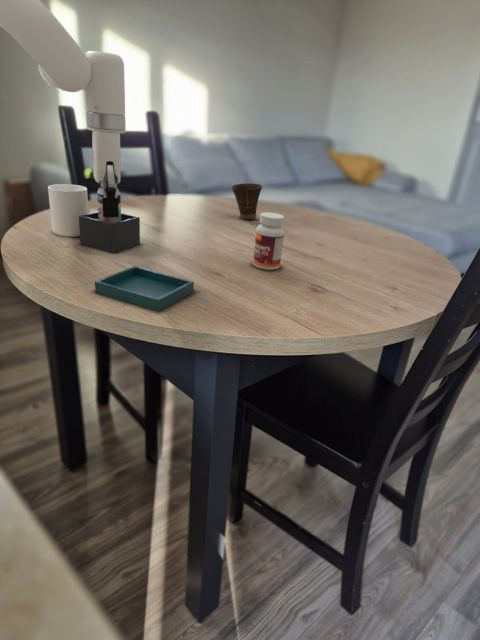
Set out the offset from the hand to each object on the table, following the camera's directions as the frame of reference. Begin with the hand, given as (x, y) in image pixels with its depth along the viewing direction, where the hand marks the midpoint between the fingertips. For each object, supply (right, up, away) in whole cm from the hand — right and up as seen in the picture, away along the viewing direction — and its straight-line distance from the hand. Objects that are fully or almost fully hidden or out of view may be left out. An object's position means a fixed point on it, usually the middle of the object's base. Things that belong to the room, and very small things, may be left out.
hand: (109, 212), depth 106 cm
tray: (+13, -20, -19) cm, 30 cm away
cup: (+28, +10, +41) cm, 51 cm away
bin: (-1, -6, +3) cm, 7 cm away
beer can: (-1, -6, +3) cm, 7 cm away
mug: (-13, -2, +9) cm, 16 cm away
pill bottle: (+35, -12, +2) cm, 36 cm away
